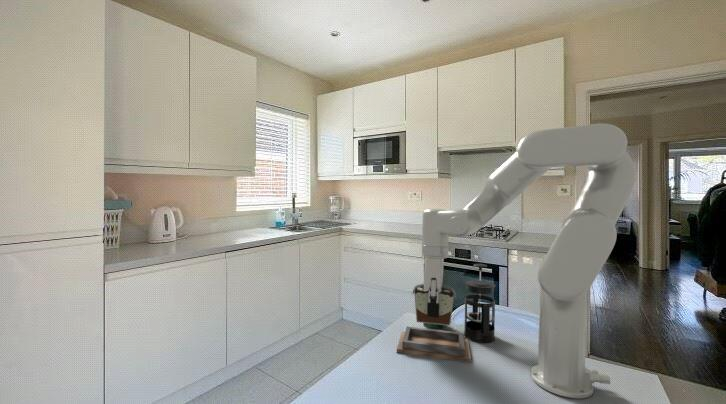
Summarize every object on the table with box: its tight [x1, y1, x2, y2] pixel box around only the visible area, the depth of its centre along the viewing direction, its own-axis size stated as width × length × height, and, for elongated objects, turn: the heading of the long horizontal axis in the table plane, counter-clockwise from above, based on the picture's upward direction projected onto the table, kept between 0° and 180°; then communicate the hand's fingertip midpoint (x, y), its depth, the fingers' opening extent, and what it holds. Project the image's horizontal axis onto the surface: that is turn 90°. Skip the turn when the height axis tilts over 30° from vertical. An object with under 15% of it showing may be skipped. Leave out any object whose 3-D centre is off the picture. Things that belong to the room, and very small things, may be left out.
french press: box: [463, 263, 496, 344], centre depth 99 cm, size 12×9×23 cm
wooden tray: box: [396, 326, 472, 363], centre depth 92 cm, size 20×12×3 cm, turn 76°
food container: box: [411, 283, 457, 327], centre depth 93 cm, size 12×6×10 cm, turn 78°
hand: (433, 312), depth 92 cm, fingers closed on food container, 5 cm apart
